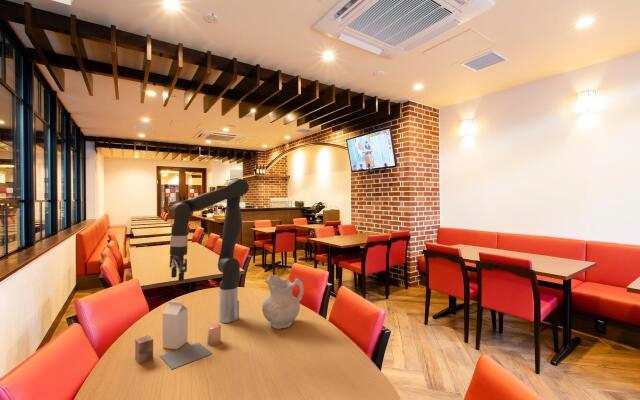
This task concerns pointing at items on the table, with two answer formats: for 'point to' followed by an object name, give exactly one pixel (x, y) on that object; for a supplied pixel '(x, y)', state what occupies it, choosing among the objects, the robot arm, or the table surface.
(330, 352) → the table surface
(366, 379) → the table surface
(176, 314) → the milk carton
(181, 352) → the mat
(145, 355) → the wooden block
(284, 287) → the ceramic pitcher
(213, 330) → the pink rounded glossy part
